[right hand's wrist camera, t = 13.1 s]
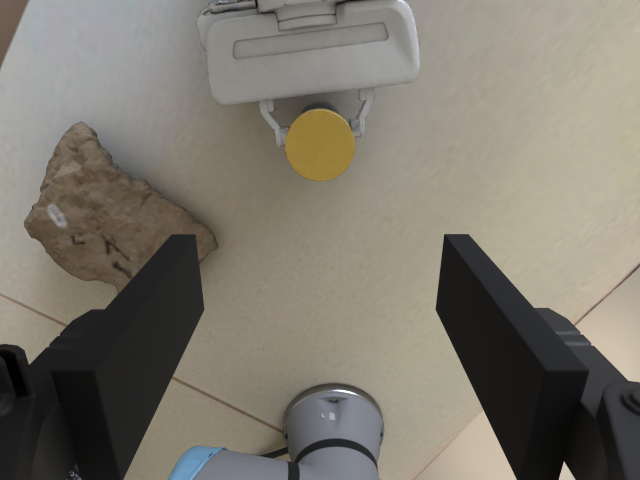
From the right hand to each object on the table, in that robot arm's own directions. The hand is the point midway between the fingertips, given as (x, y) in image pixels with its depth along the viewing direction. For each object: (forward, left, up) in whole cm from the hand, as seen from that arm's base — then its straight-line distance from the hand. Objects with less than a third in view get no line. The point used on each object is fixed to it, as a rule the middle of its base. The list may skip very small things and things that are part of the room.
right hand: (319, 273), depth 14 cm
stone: (-25, +9, -39) cm, 47 cm away
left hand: (-1, -1, -33) cm, 33 cm away
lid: (0, 0, -24) cm, 24 cm away
